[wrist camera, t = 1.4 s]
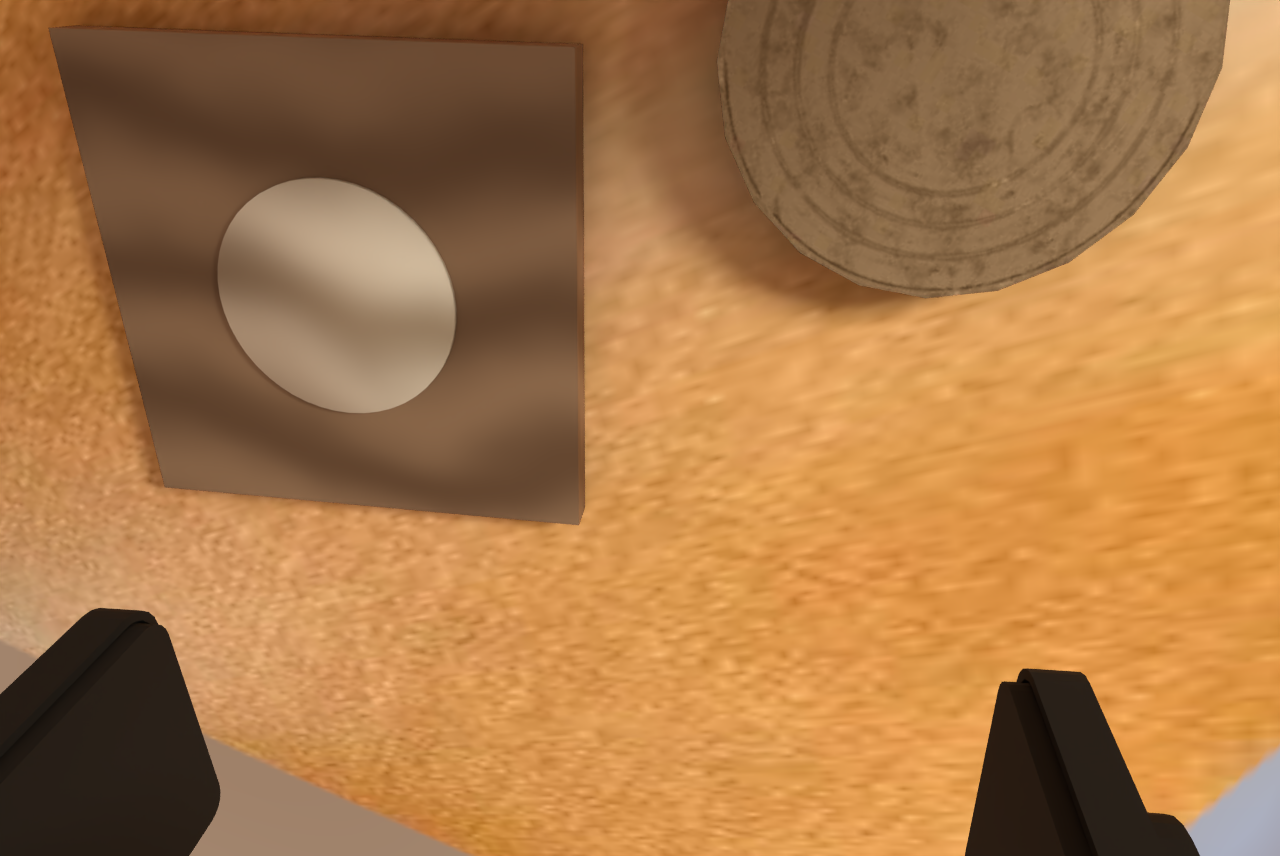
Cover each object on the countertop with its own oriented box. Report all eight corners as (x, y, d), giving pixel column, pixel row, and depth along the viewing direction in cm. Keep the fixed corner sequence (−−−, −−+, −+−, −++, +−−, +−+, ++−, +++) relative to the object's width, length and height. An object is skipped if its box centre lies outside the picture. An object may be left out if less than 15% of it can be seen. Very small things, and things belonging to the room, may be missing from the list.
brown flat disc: (666, -109, 31) (656, -116, 28) (1174, -305, 27) (1219, -335, 24) (780, 317, 37) (780, 344, 34) (1204, 209, 33) (1242, 230, 30)
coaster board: (75, 25, 35) (40, 28, 33) (582, 44, 33) (572, 48, 31) (183, 471, 44) (159, 491, 42) (585, 507, 42) (577, 529, 40)
